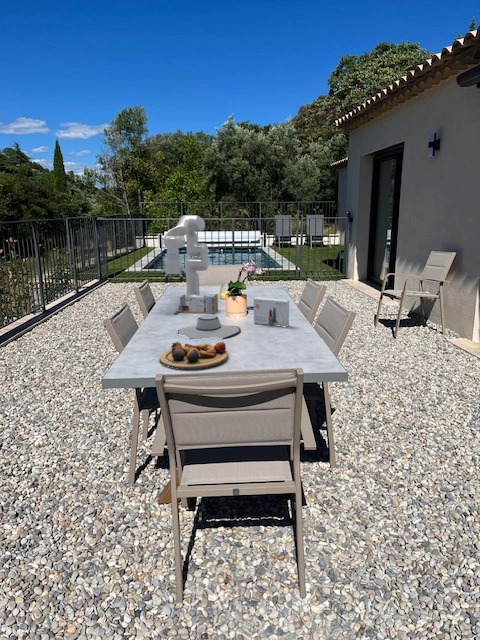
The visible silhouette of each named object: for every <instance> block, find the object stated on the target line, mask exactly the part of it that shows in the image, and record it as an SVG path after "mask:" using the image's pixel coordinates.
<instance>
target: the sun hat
mask: <svg viewBox="0 0 480 640" xmlns="http://www.w3.org/2000/svg"><path fill="white" fill-rule="evenodd" d="M197 319H198V320H197V322H196V325H193V326H191V325H190V326H186V327H182V329H181V328H179V329H180V330H179V329H177V331H178V334H181V335H185V336H187V337H188V338H190V339H189V340H191V339H202V338H210V337H218V338H225V339H227V338H230V337H232V336H235V335H237V334H239V333H240V332H241V331H242V330H241V327H239V326H237V325H226V326H225V324H223V323H221V320H220V319H219V317H218V316H217V315H215V314H204V315H202V316H199V317H198V318H197Z"/></svg>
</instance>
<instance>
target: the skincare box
mask: <svg viewBox="0 0 480 640" xmlns="http://www.w3.org/2000/svg"><path fill="white" fill-rule="evenodd" d="M254 323H258V324H257V325H261V324H269V325H280V326H287V325H289V326H290V299H283V298H272V297H270V298H269V297H261V296H256V297H254V298H253V324H254ZM269 325H268V326H269Z"/></svg>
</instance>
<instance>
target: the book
mask: <svg viewBox="0 0 480 640" xmlns="http://www.w3.org/2000/svg"><path fill="white" fill-rule="evenodd" d="M215 294H216V293H208V294H207V295H206V313H213V311H212V297H213V296H214V295H215Z"/></svg>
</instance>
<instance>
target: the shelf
mask: <svg viewBox="0 0 480 640" xmlns="http://www.w3.org/2000/svg"><path fill="white" fill-rule="evenodd" d="M214 294H215V295H214V296H213V297H212V311H213V313H206V311H205V312H204V313H201V312H189V305H186V310H184V311H183V312H177V311H178V310H179V309H180V304H179V305H178V309H177V310H176V311H175V312H174V313H173V314H174V315H180V314H194V315H195V314H201V315H216V313H217V312H218V310H219V301H218V300H219V297H218V295H219V294H218V293H214Z"/></svg>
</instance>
